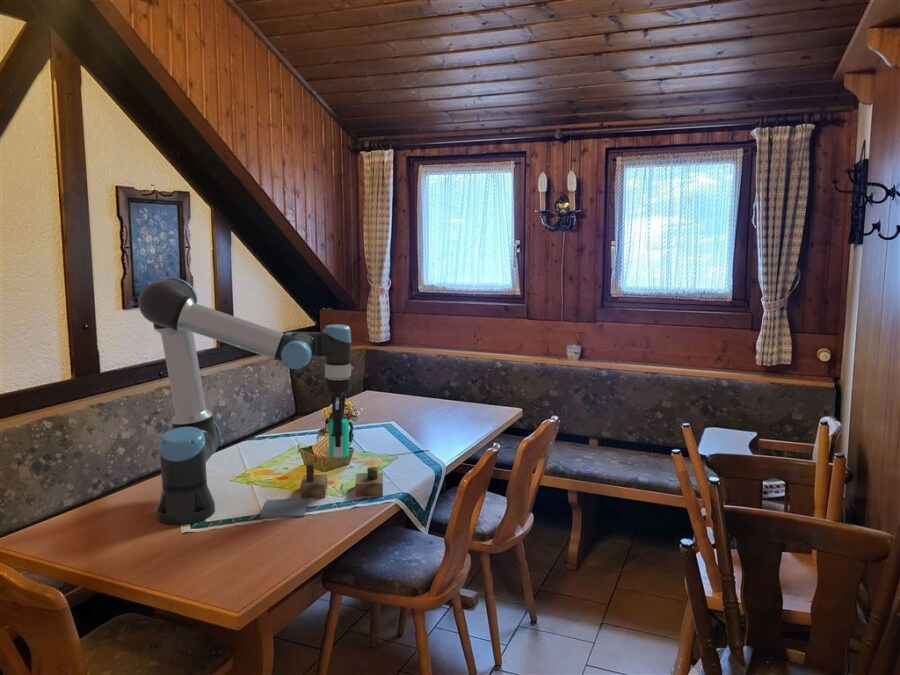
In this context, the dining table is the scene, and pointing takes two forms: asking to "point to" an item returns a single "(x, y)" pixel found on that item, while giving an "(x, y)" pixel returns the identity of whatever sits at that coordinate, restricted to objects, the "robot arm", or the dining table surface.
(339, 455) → the robot arm
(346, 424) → the candle
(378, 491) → the wooden peg blocks
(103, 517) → the dining table surface
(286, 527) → the dining table surface
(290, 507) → the coaster
